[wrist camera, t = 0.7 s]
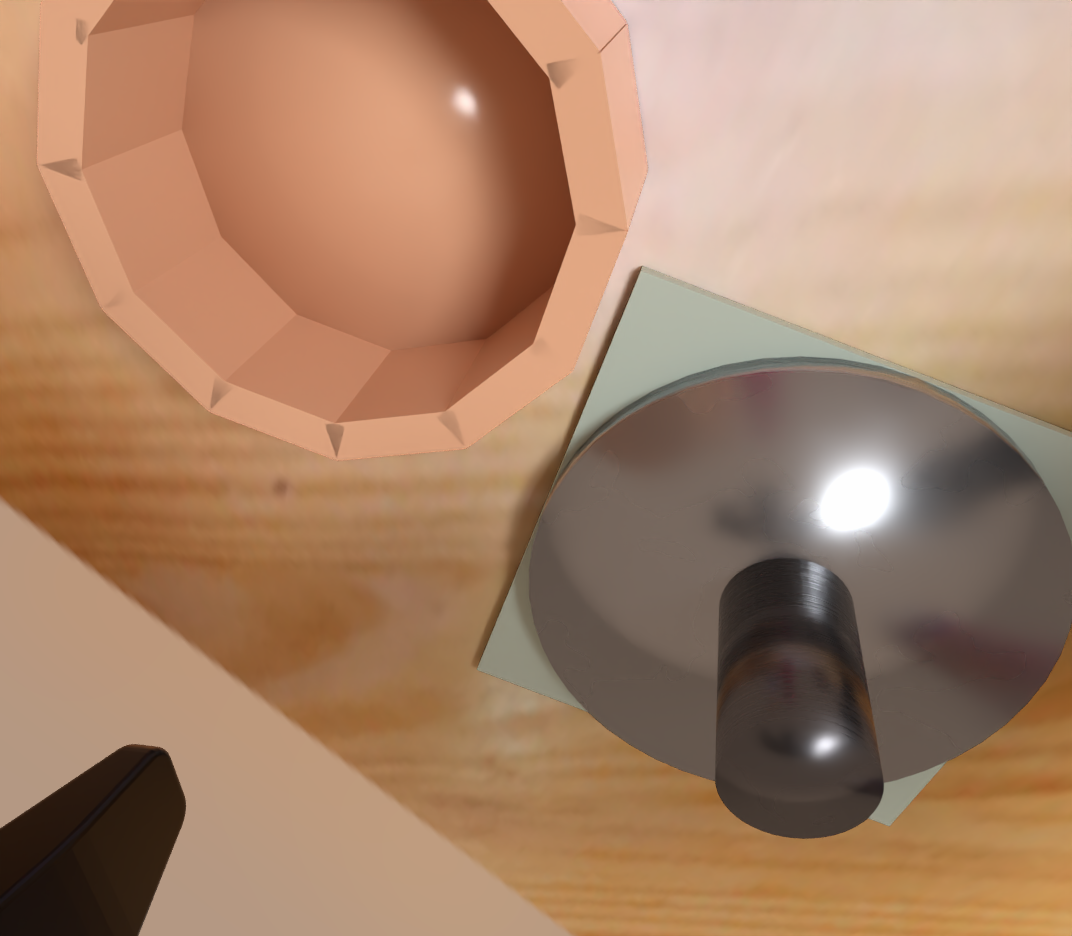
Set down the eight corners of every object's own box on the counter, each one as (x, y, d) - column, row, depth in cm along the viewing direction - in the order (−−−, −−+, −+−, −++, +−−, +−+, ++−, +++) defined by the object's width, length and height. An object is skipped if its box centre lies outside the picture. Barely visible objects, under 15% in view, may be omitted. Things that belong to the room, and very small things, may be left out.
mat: (1186, 476, 19) (1192, 484, 19) (887, 817, 26) (889, 826, 25) (642, 266, 19) (641, 270, 19) (479, 662, 25) (477, 669, 25)
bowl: (725, -29, 16) (722, -12, 13) (546, 429, 21) (511, 527, 18) (192, -239, 16) (47, -277, 13) (144, 275, 21) (32, 344, 18)
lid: (1191, 483, 19) (1350, 684, 14) (889, 825, 25) (925, 1043, 21) (641, 270, 19) (608, 398, 14) (476, 669, 25) (415, 853, 20)
